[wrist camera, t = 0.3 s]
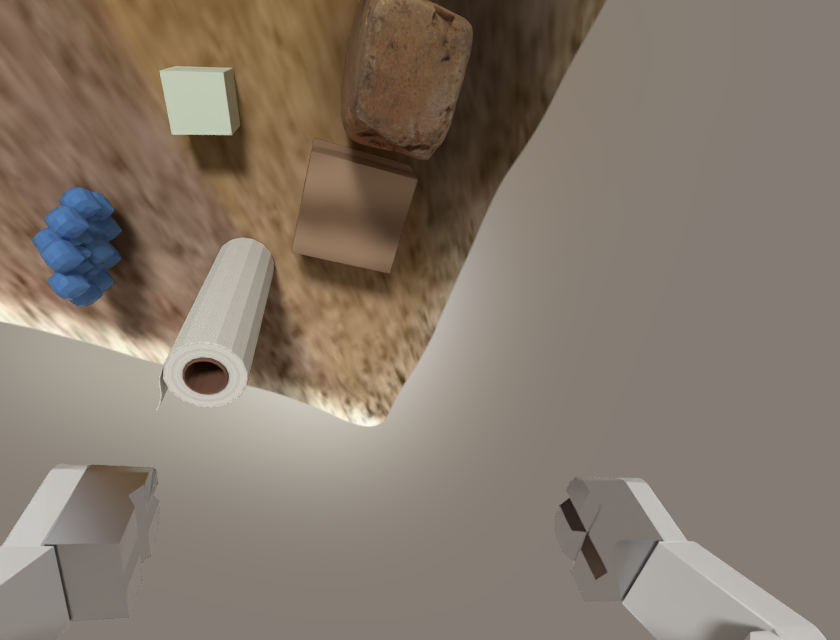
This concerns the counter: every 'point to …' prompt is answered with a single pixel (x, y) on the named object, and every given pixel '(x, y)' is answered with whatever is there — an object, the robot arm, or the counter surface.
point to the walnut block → (353, 207)
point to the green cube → (201, 100)
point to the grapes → (79, 246)
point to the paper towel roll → (221, 328)
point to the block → (404, 75)
